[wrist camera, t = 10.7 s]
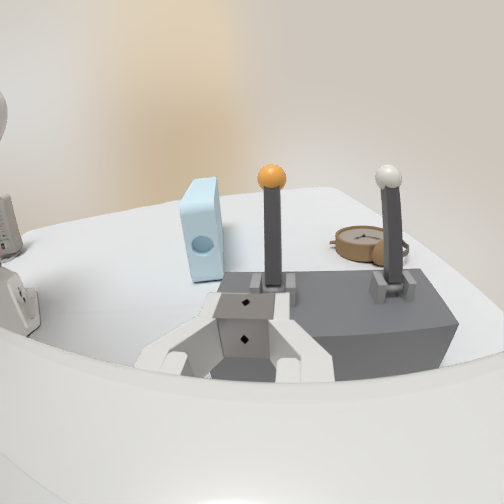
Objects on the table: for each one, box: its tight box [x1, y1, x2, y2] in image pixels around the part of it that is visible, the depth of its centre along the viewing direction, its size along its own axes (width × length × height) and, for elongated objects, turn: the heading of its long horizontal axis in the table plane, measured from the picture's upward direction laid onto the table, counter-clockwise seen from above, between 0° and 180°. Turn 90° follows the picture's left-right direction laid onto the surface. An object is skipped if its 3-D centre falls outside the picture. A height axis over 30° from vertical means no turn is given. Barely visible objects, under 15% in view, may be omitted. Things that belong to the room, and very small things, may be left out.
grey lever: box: [375, 164, 403, 293], centre depth 23 cm, size 3×3×12 cm
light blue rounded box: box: [180, 177, 224, 282], centre depth 51 cm, size 23×6×13 cm, turn 6°
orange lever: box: [258, 165, 286, 294], centre depth 24 cm, size 3×3×12 cm
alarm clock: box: [330, 226, 409, 266], centre depth 48 cm, size 11×5×15 cm
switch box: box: [210, 269, 459, 382], centre depth 25 cm, size 10×22×10 cm, turn 83°
